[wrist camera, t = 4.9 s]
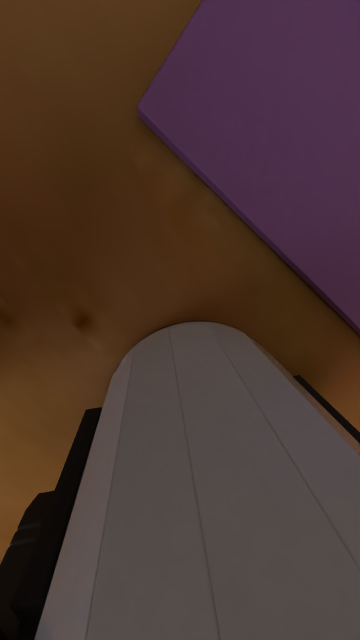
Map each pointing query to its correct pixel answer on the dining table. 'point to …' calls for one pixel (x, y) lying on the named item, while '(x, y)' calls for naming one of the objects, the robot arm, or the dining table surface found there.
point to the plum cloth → (274, 128)
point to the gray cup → (210, 503)
